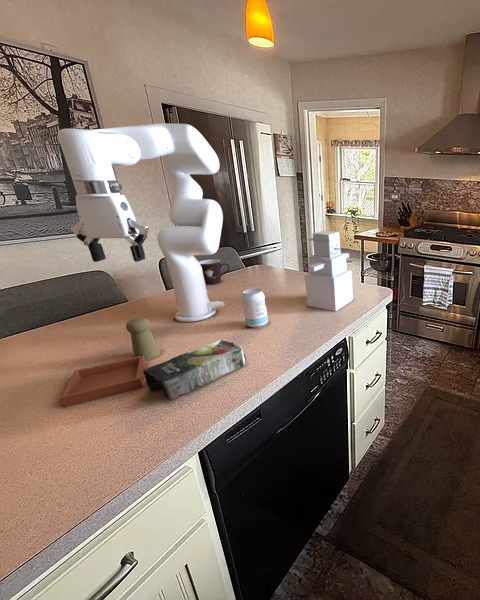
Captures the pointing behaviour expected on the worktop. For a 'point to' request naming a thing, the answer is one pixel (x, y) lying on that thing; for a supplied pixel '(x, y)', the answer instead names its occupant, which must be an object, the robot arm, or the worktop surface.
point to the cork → (142, 338)
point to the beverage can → (254, 308)
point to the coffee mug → (212, 271)
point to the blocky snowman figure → (328, 273)
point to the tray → (104, 380)
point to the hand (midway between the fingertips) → (120, 260)
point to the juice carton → (195, 368)
